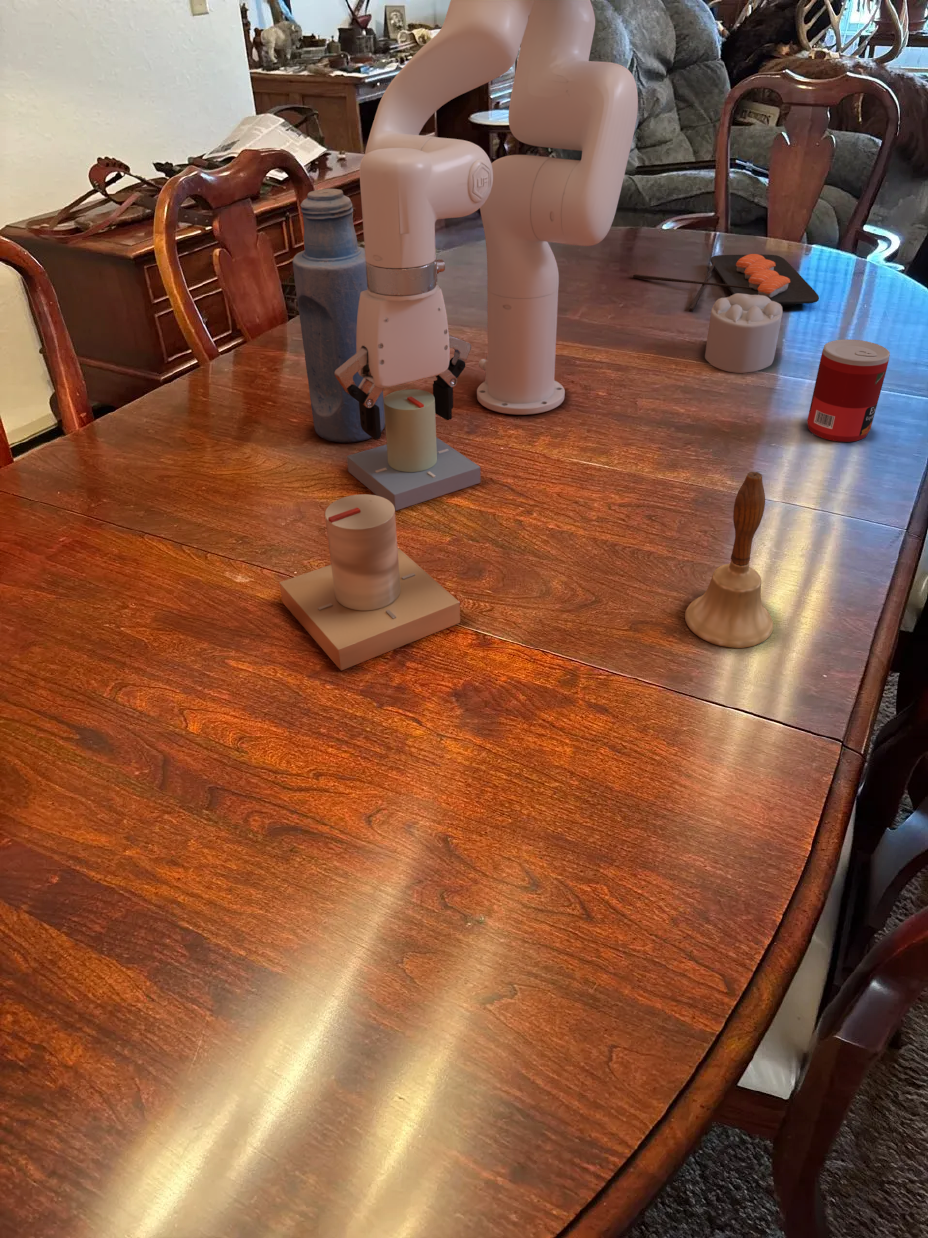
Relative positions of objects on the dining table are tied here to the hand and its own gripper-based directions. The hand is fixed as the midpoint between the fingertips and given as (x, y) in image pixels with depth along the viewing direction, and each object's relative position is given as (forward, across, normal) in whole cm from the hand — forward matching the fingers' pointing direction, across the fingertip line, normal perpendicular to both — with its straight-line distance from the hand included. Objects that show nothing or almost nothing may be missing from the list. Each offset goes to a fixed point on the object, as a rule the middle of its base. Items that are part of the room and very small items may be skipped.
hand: (408, 425), depth 109 cm
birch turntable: (+8, +17, +22) cm, 29 cm away
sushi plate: (+5, -86, -32) cm, 92 cm away
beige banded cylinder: (+5, +17, +22) cm, 28 cm away
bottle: (+7, -1, -17) cm, 19 cm away
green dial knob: (+5, -1, 0) cm, 5 cm away
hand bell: (+7, -11, +43) cm, 45 cm away
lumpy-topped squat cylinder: (+6, -63, -5) cm, 63 cm away
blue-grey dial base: (+7, -1, 0) cm, 7 cm away
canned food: (+6, -54, +21) cm, 58 cm away
